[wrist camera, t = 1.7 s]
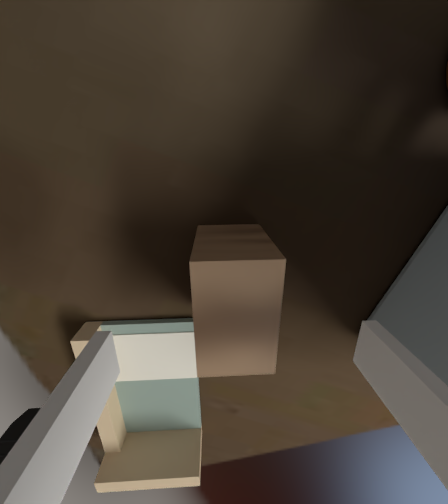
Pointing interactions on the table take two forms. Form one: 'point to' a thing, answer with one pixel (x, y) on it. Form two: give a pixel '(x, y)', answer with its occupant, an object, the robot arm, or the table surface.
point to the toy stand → (149, 406)
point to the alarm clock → (422, 302)
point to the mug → (447, 75)
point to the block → (236, 300)
